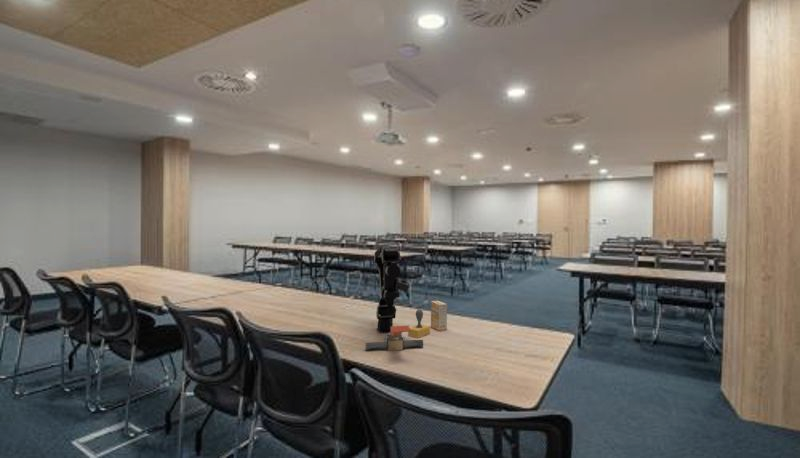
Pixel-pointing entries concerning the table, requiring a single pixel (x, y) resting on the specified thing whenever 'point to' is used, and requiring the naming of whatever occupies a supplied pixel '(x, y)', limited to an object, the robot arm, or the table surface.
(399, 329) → the lever
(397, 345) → the pipe valve
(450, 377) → the table surface
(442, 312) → the supplement box
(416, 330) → the rubber stamp
